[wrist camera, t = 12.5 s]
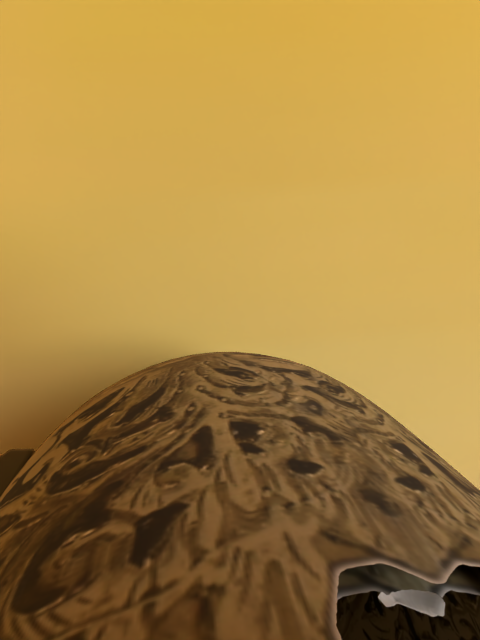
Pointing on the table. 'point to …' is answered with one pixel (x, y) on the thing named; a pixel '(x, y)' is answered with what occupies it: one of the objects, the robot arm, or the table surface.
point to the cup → (237, 515)
